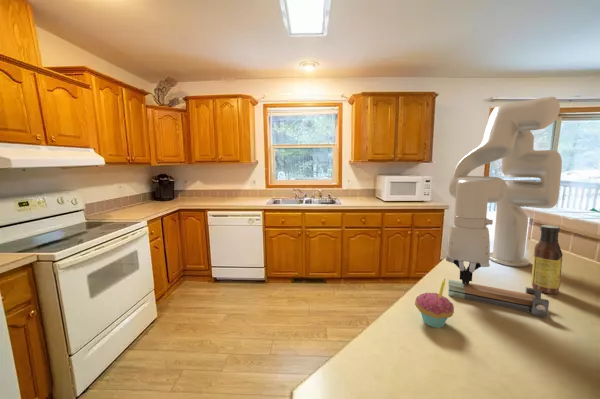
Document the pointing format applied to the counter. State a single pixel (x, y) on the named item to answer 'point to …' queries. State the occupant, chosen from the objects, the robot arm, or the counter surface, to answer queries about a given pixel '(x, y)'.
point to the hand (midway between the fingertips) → (465, 282)
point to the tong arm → (491, 292)
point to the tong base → (536, 309)
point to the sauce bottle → (547, 261)
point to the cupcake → (434, 308)
